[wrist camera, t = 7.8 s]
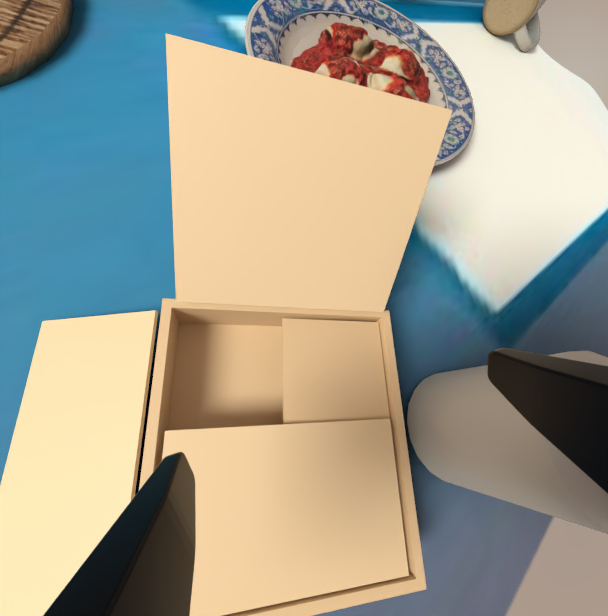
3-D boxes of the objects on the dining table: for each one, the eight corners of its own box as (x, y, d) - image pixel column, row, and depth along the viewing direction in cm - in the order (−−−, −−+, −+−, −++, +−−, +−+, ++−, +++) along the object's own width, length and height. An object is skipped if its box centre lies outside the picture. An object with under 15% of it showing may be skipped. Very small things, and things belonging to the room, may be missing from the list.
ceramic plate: (289, -24, 36) (295, -59, 33) (468, 76, 39) (486, 51, 37) (199, 105, 26) (196, 69, 23) (449, 223, 29) (473, 204, 27)
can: (479, 379, 24) (694, 354, 13) (492, 483, 22) (773, 559, 11) (398, 368, 22) (567, 330, 12) (401, 479, 20) (624, 566, 9)
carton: (390, 557, 18) (426, 589, 15) (-33, 638, 13) (-117, 714, 10) (365, 324, 23) (389, 310, 20) (49, 311, 18) (11, 290, 14)
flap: (383, 312, 19) (452, 110, 14) (176, 301, 16) (165, 33, 11) (381, 309, 19) (447, 110, 14) (177, 298, 16) (167, 36, 11)
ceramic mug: (468, 20, 44) (516, -54, 37) (483, 2, 47) (530, -69, 40) (522, 64, 44) (580, 0, 37) (534, 43, 48) (588, -19, 41)
